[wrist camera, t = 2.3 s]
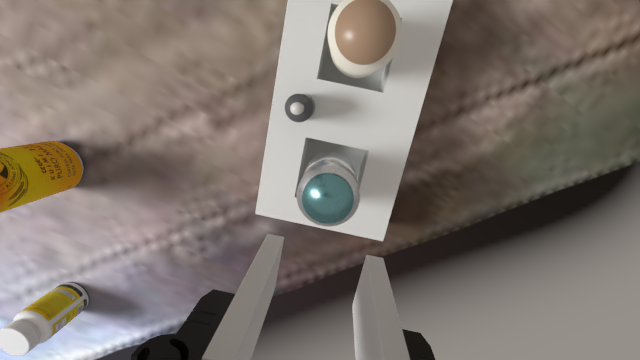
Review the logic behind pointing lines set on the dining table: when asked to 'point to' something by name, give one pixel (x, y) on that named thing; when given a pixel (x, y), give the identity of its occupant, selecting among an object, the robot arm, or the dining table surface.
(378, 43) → the cream knob
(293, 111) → the pot post
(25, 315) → the supplement bottle
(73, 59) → the dining table surface
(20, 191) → the beer can
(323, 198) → the metal knob
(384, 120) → the mount
